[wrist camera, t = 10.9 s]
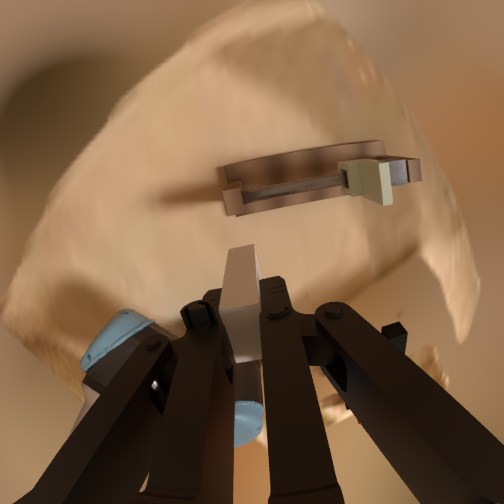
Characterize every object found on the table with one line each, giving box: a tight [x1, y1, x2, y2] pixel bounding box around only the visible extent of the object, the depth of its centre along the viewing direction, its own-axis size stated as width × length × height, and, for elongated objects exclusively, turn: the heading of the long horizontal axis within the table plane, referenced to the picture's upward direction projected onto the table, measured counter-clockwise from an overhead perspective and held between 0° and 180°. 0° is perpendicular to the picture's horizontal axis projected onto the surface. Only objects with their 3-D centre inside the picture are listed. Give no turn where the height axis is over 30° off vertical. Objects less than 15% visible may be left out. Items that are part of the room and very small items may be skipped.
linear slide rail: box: [222, 141, 422, 217], centre depth 37 cm, size 26×8×12 cm, turn 102°
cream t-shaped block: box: [337, 159, 393, 206], centre depth 30 cm, size 4×4×10 cm
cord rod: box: [241, 158, 408, 204], centre depth 33 cm, size 24×3×3 cm, turn 102°
